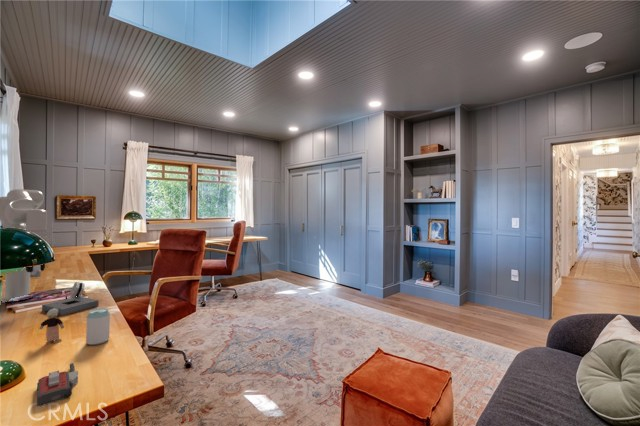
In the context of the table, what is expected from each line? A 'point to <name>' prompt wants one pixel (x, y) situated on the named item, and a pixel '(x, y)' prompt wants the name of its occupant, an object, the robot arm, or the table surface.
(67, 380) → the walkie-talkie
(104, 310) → the can
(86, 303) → the socket block
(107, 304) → the table surface
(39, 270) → the pin
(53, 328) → the grandmother figurine
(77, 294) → the grey curved electronic device
